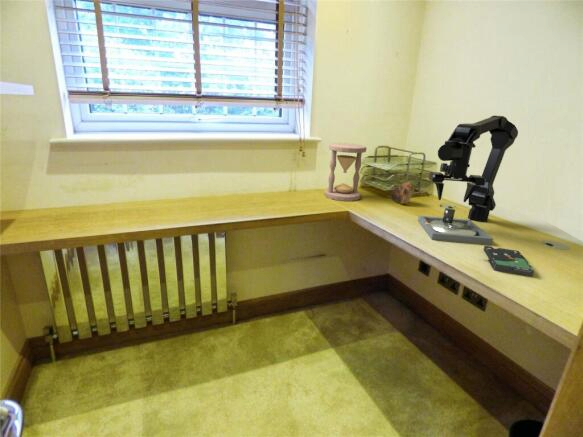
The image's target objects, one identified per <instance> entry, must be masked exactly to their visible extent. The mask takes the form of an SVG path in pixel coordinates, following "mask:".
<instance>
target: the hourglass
mask: <svg viewBox="0 0 583 437" xmlns="http://www.w3.org/2000/svg"><path fill="white" fill-rule="evenodd" d="M328 150H330V151H331V158H330V162H329V163H330V164H329V168H330V173H329V175H328V187H327V188H326V189H325V190H324V196H325V197H326V198H328V199H331V200H334V201H335V200H336V201H340V202H355V201H358V200H360V199H361V192H359V191H358V187H359V186H358V185H359V183H360V182H359V181H360V169H361V166H362V154H363V153H366V152H367V146H366V145H362V144H356V143H355V144H354V143H348V142H347V143H346V142H345V143H343V142H342V143H341V142H340V143H339V142H333V143H329V146H328ZM337 152H339V153H348V154H349V153H350V154H356V156H354V155H347V154H345V155H344V154H338V155H337ZM337 161H338V162H339V164H340V166H341V168H342V170H343V171H342V172H343V173H344V174H347V173H348V170H349V169H350V167H351V166H352V165H353V163H354V169H355V172H354V175H353V178H352V182H353V184H352V186H350V185H348V184H346V183H343V182H342V183H340V184H336V185H335V184H334V183H335V179H336V175H335V169H336V167H337Z"/></svg>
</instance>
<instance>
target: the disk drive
mask: <svg viewBox="0 0 583 437" xmlns="http://www.w3.org/2000/svg"><path fill="white" fill-rule="evenodd" d="M483 252H484V253H485V254H486V256H487V258H488V259H487V261H488V263H489V264H490V267H491V268H492V270H493V271H495V272H501V273H506V274H512V275H519V276H524V277H531V278H533V276H534V273H535V272H534V268H533V266H532V265H531V264H530V263H529V262H528V260H527V258H525V257H524V255H523V254H522V253H521V252H520V251H519V250H516V249H509V248H503V247H497V248H494V247H493V246H491V245H484V247H483Z"/></svg>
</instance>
